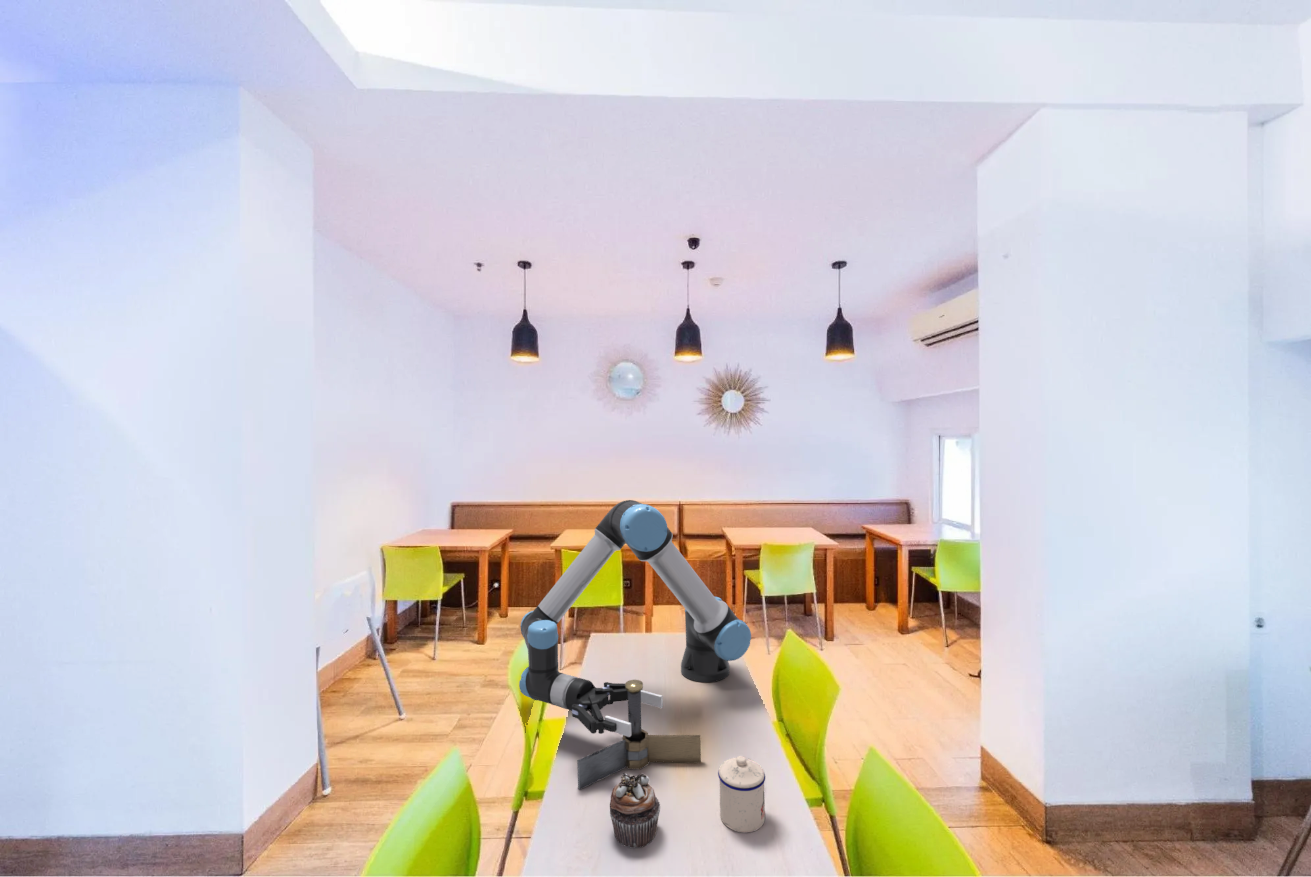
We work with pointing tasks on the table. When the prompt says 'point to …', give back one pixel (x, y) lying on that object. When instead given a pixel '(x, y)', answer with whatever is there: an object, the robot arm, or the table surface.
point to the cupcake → (634, 811)
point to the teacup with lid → (742, 794)
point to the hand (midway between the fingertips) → (647, 715)
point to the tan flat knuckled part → (665, 749)
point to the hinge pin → (634, 708)
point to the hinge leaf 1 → (605, 763)
